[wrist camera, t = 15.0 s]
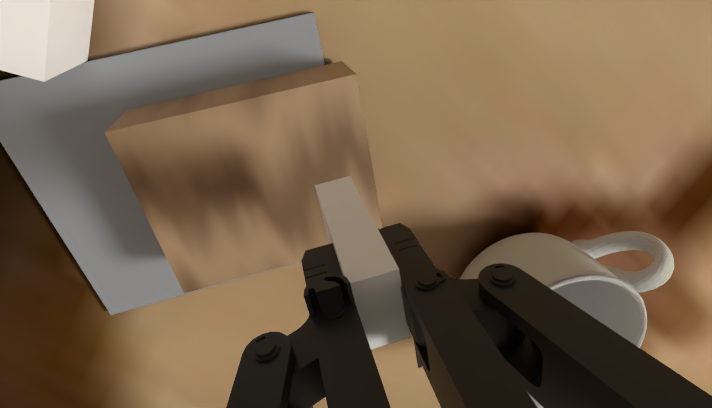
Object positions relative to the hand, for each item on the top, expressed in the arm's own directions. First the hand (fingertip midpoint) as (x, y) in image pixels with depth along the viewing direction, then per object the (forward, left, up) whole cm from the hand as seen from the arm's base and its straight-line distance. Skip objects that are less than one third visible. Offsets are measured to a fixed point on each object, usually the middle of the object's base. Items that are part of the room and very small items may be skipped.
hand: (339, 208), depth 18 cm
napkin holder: (+12, +8, -8) cm, 17 cm away
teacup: (-13, -13, -8) cm, 20 cm away
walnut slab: (0, -2, -5) cm, 6 cm away
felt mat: (0, +6, -7) cm, 10 cm away
